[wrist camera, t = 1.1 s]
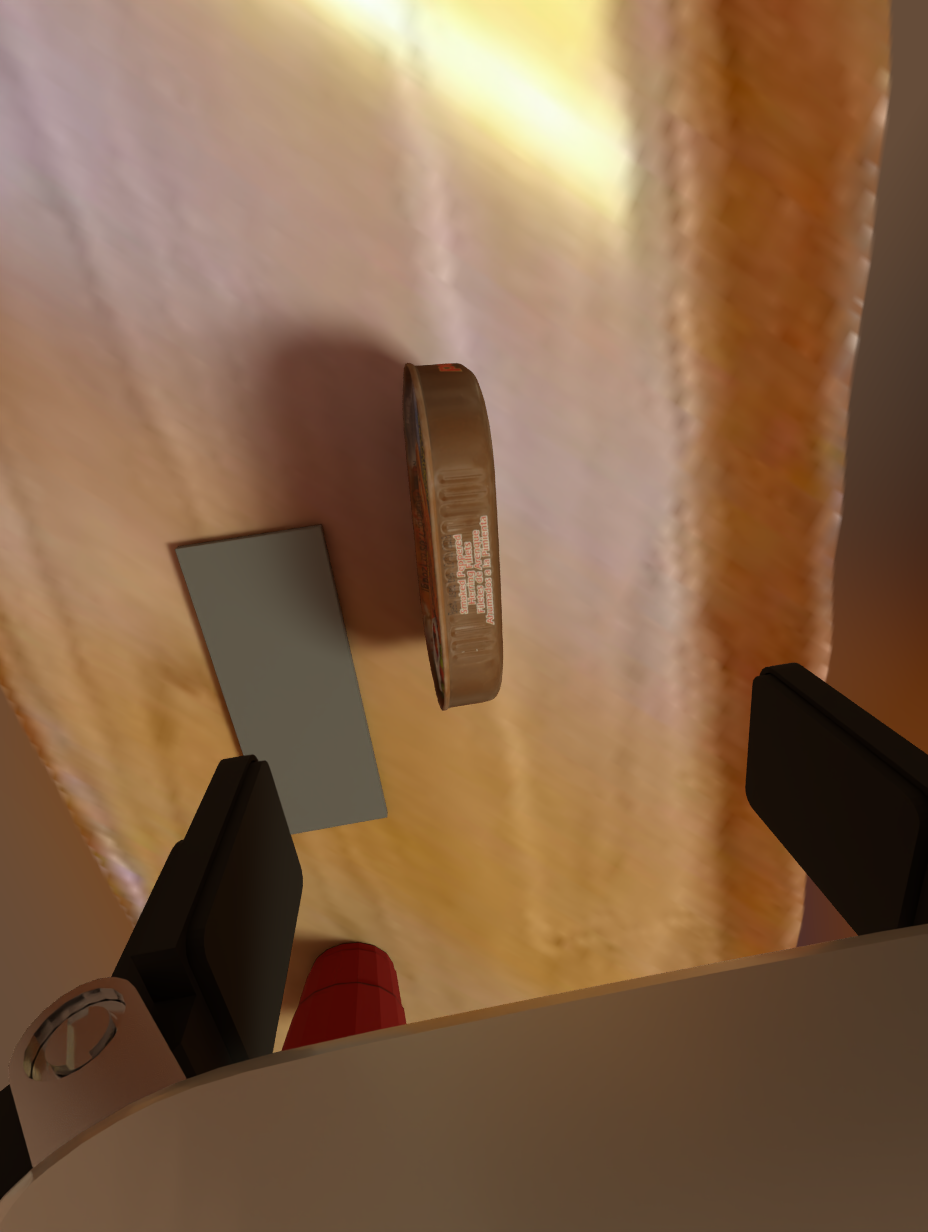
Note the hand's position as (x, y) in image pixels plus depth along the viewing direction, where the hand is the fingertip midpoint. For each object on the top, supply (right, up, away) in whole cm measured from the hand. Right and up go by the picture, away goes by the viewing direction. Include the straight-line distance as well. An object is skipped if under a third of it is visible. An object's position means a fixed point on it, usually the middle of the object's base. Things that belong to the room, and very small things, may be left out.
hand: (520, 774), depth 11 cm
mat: (-10, -1, +21) cm, 24 cm away
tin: (-2, +8, +19) cm, 21 cm away
